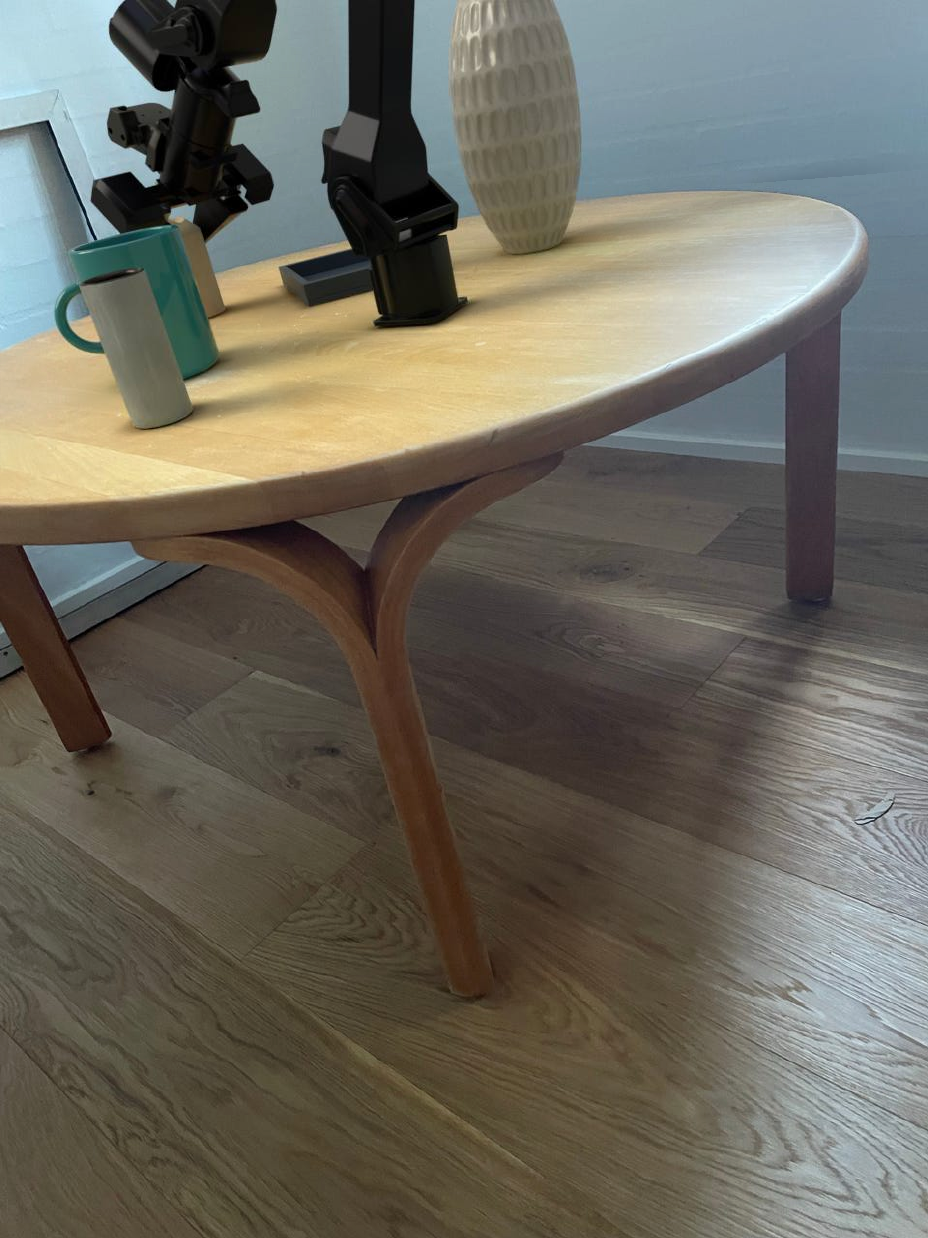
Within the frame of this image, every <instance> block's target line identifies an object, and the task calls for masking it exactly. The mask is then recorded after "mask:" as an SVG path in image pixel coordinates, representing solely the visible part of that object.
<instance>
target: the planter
mask: <svg viewBox="0 0 928 1238" xmlns="http://www.w3.org/2000/svg"><path fill="white" fill-rule="evenodd" d="M79 287H80V290H81V292H82V294H81V295H82V298H83V300H84V302H85V305H86V308H87V311H88V313H89V315H90V318H91V320H92V323H93V326H94V329H95V331H96V333H97V336H98V339H99V342H101V344H102V347H103V349H104V352H105V354H104V355H105V357H106V360H107V362H108V365H109V368H110V370H111V372H112V375H113V378H114V380H115V383H116V385H117V388H118V391H119V393H120V396H121V398H122V401H123V403H124V406H125V408H126V411H127V414H128V416H129V419H130V421H131V423H132V425H133V427H134V428H136V429H139V430H140V429H141V430H142V429H143V430H144V429H154V428H155V429H156V428H161V427H163V426H164V427H165V426H168V425H170V424H173V423H176V422H178V421H180V420H182V419H185V418H186V417H188V416H189V415H190V414H191V413H192V412H193V410H194V408H193V405H192V402H191V397H190V396H189V393H188V389H187V386H186V384H185V381H184V379H183V378H182V375H181V372H180V369H179V366H178V364H177V361H176V358H175V355H174V352H173V349H172V346H171V343H170V341H169V338H168V335H167V332H166V329H165V326H164V323H163V320H162V318H161V315H160V312H159V309H158V306H157V303H156V300H155V297H154V295H153V292H152V289H151V286H150V283H149V280H148V277H147V274H146V272H145V269H144V268H141V267H137V268H129V269H123V270H118V271H114V272H109V273H106V274H102V275H99V276H95V277H92V278H90V279H87V280H85V281H83V282H81V283H80V284H79Z"/></svg>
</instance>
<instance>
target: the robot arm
mask: <svg viewBox="0 0 928 1238" xmlns="http://www.w3.org/2000/svg"><path fill="white" fill-rule="evenodd" d="M415 3H416V0H347V11H348V12H347V19H348V20H347V21H348V22H347V25H348V27H347V33H348V34H347V38H348V40H347V41H348V43H347V44H348V45H347V46H348V49H347V50H348V51H347V55H348V105H347V110H346V113H345V115H344V118H343V120H342V122H341V123H340V125H337V126H333V127H329V128H326V129H324V130H323V132H322V139H321V147H322V154H323V155H322V156H323V172H322V176H321V180H320V182H321V184H322V185H326V193H327V201H328V204H329V207H330V209H331V210H332V211H333V213H334V215H335V217H336V219H337V221H338V223H339V226H340V227H341V230H342V231H343V234H344V236H345V237H346V240H347V242H348V245H349V246H350V249H351V248H352V250H353V252H354V254H355V255H356V256H366V257H369V258H370V262H371V266H370V267H369V269H368V271H369V275H370V279H371V284H372V288H373V290H372V293H373V297H374V301H375V307H376V310H377V313H378V315H379V317H378V318H375V319H374V320H373V321H372V322H373V327H391V326H409V325H424V324H426V325H427V324H434V323H438V322H439V321H441V320H443V319H444V318H446V317H447V316H449V315H450V314H452V313H453V312H456V310H458V309H460V308H461V307H463V306H464V305H466V304H468V303H469V300H468V296H459V295H458V290H457V289H458V288H457V283H456V279H455V273H454V267H453V261H452V256H451V251H450V245H449V239H448V235H447V234H445V233H447V232H450V231H454V230H457V229H458V223H459V213H460V205H459V202H457V201H456V199H454V198H453V197H452V196H451V194H450V193H448V192H447V191H446V189H444V187H443V186H442V185H441V184H440V183H439V182H438V181H437V180H436V179H435V178H434V177H433V176H432V175H431V174H430V172H429V166H428V153H427V146H426V142H425V140H424V138H423V136H422V134H421V131H420V129H419V127H418V125H417V122H416V120H415V118H414V116H413V114H412V89H413V87H412V85H413V61H414V60H413V59H414V33H415V31H414V30H415V8H416V7H415V6H416V5H415ZM277 14H278V4H277V0H176V1H175V3H174V5H172V4H171V2H170V1H169V0H123V1H122V2H121V3H120V4H119V5H118V7H117V9H116V10H115V12H114V13H113V16H112V17H110V19H109V22H108V35H109V39H110V41H111V43H112V45H113V46H114V47H115V48H116V49H117V50H118V51H119V52H120V53H121V54H122V56H123V57H124V58H125V59H126V60H127V61H128V62H129V63H130V64H131V65H132V67H134V68H135V69H136V70H137V71H138V72H139V74H141V76H142V77H143V78H144V79H145V80H146V81H147V82H148V83H149V84H150V86H152V87H153V88H154V89H155V90H156V91H159V92H161V93H169V92H173V91H174V93H173V97H172V102H171V108H169V107H167V106H165V105H163V104H161V103H158V102H146V103H141V104H135V105H131V106H126V105H124V104H123V105H119V106H112V107H110V108H109V112H108V115H107V118H106V119H107V120H106V128H107V136H108V138H109V139H110V141H111V142H112V143H114V144H116V145H117V146H119V147H121V148H123V149H131V148H132V149H133V150H135V151H136V152H138V153H140V154H142V155H144V156H145V162H144V165H145V166H146V167H147V168H148V169H149V170H150V171H151V172H152V173H158V175H159V178H155V181H154V185H151V186H150V185H149V186H147V187H145V185H143V183H142V182H141V181H140V180H139V179H138V178H137V177H136V175H134V174H133V172H132V171H125V172H120V173H116V174H112V175H107V176H103V177H100V178H96V179H93V180H92V186H91V192H90V193H91V194H90V203H91V204H92V205H93V207H95V208H96V210H98V212H100V214H101V215H102V216H103V217H104V218H105V219H106V220H107V221H108V223H110V225H112V227H113V228H114V229H115V230H116V231H117V232H118V233H119V234H122V233H126V232H131V231H135V230H140V229H145V228H150V227H156V226H163V225H171V224H170V223H169V222H168V219H170V216H171V214H172V210H173V209H177V208H180V207H184V206H187V205H188V207H192V206H195V207H194V211H193V217H192V218H193V219H192V223H194V224H195V225H197V226H198V227H199V228H200V229H201V232H202V235H203V239H204V242H205V245H206V244H207V243H208V242H210V241H211V240H212V239H213V238H214V237H215V236H216V235H217V234H218V233H219V232H221V231H222V230H223V229H224V228H226V227H227V226H228V225H229V224H231V222H233V221H234V220H235V219H236V218H238V217H239V216H240V215H242V214H243V213H246V212H247V211H248V209H249V204H250V205H251V206H255V205H258V204H261V203H264V202H268V201H270V200H271V197H272V194H273V191H274V187H275V181H274V178H273V174H272V172H270V170H269V169H268V168H267V167H266V166H265V165H264V164H263V163H262V162H261V161H260V159H258V158H257V156H255V154H254V153H253V152H252V151H251V150H250V149H249V148H248V147H247V146H246V145H245V144H244V143H237V144H233V145H232V139H233V135H234V130H235V127H236V123H237V121H238V119H239V118H243V117H246V116H251V115H256V114H259V113H260V112H261V106H260V102H259V100H258V98H257V96H256V95H255V94H254V92H253V90H252V87H251V85H250V81H249V80H248V79H242V80H241V79H240V77H238V76H237V74H235V72H234V71H233V70H232V69H231V68H230V67H233V66H240V65H246V64H250V63H251V64H252V63H257V62H260V61H262V60H263V59H265V58H266V56H267V55H268V53H269V51H270V47H271V44H272V39H273V34H274V28H275V23H276V19H277V18H276V17H277ZM242 187H243V188H244V189H245V194H244V199H245V200H244V199H243V198H242V191H241V188H242ZM246 201H247V202H248V203H249V204H248V203H247V202H246Z"/></svg>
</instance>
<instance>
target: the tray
mask: <svg viewBox="0 0 928 1238" xmlns="http://www.w3.org/2000/svg"><path fill="white" fill-rule="evenodd" d="M370 266H371V262H370V258H369V257H366V256H356V255H355V254H354V252H353V250H352V248H351V247H350V248H348V249H342V250H340V251H336V252H332V253H328V254H324V255H319V256H315V257H312V258H307V259H304V260H301V261H300V260H299V261H296V262H293V263H292V262H291V263H288V264H284V265H281V266H278V270H279V274H280V278H281V281H282V285H283V287H284V288H286V290H288V291H289V292H290V293H291V294H293V295H294V296H295V297H297V298H298V299H299V300H300V301H302V303H304V304H305V305H306V306H308V307H309V308H310V307H314V306H317V305H320V304H324V303H328V302H332V301H336V300H340V299H343V298H347V297H351V296H354V295H358V294H362V293H366V292H369V291H373V288H372V284H371V279H370V275H369V271H368V269H369V267H370Z"/></svg>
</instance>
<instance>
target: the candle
mask: <svg viewBox="0 0 928 1238" xmlns="http://www.w3.org/2000/svg"><path fill="white" fill-rule="evenodd" d="M168 222H169V223H170V224H171V225H177V226H178V227H179V230H180V233H181V236H182V239H183V242H184V245H185V248H186V251H187V254H188V258H189V261H190V264H191V267H192V270H193V273H194V276H195V279H196V282H197V285H198V288H199V292H200V295H201V298H202V301H203V304H204V307H205V310H206V313H207V316H208V319H209V318H212V317H214V316H217V315H219V314H221V313H223V312H224V311H225V310H226V307H225V303H224V299H223V296H222V293H221V290H220V286H219V283H218V280H217V277H216V274H215V271H214V268H213V264H212V261H211V258H210V255H209V252H208V249H207V246H206V244H205V242H204V239H203V235H202V232H201V229H200V228H199V227H198V226H197V225H195V224H194V223H193V221H190V220H188V219H187V218H185V217H184V216H182V215H181V216H180V215H179V216H177V217H174V218H169V219H168Z"/></svg>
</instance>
